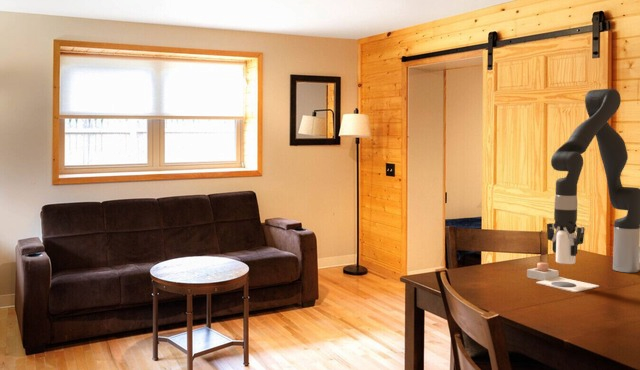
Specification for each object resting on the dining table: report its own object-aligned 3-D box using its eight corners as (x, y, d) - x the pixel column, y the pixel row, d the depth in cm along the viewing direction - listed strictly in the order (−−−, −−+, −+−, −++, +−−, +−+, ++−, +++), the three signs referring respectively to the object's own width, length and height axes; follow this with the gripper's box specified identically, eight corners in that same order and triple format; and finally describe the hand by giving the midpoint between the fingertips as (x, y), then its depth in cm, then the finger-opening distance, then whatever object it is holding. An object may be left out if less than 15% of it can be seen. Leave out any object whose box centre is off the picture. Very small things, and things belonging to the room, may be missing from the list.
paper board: (560, 278, 232) (560, 277, 232) (599, 286, 218) (599, 285, 218) (535, 283, 224) (535, 281, 224) (574, 292, 211) (574, 290, 211)
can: (577, 265, 216) (578, 231, 215) (557, 264, 217) (558, 230, 216) (572, 261, 223) (573, 228, 221) (554, 260, 224) (554, 228, 223)
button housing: (540, 274, 238) (540, 266, 238) (558, 278, 231) (558, 270, 231) (526, 277, 234) (527, 269, 233) (544, 281, 227) (544, 273, 227)
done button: (541, 272, 235) (541, 262, 235) (550, 274, 232) (550, 263, 231) (534, 273, 233) (535, 263, 233) (543, 275, 230) (544, 265, 229)
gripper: (590, 209, 214) (589, 256, 215) (555, 205, 226) (553, 250, 227) (577, 210, 210) (575, 258, 211) (541, 206, 222) (540, 252, 223)
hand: (564, 254), depth 219 cm, fingers closed on can, 6 cm apart
